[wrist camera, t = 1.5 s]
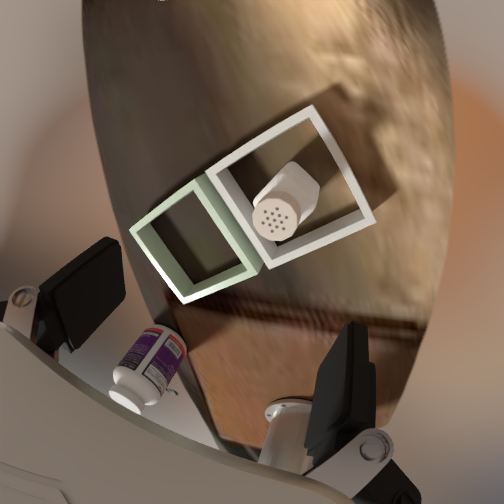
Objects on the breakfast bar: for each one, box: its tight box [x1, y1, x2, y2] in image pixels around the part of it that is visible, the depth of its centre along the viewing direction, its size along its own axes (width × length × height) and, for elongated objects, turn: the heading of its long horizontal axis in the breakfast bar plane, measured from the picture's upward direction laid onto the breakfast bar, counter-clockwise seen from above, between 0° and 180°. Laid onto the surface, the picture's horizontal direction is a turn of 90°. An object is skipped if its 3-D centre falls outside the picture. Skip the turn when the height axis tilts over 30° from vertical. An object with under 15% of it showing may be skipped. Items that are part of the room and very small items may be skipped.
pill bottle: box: [109, 324, 187, 414], centre depth 38 cm, size 8×8×14 cm
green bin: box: [129, 173, 264, 304], centre depth 32 cm, size 12×12×3 cm
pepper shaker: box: [252, 161, 320, 241], centre depth 23 cm, size 4×4×10 cm
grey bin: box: [205, 105, 376, 269], centre depth 25 cm, size 12×12×3 cm
